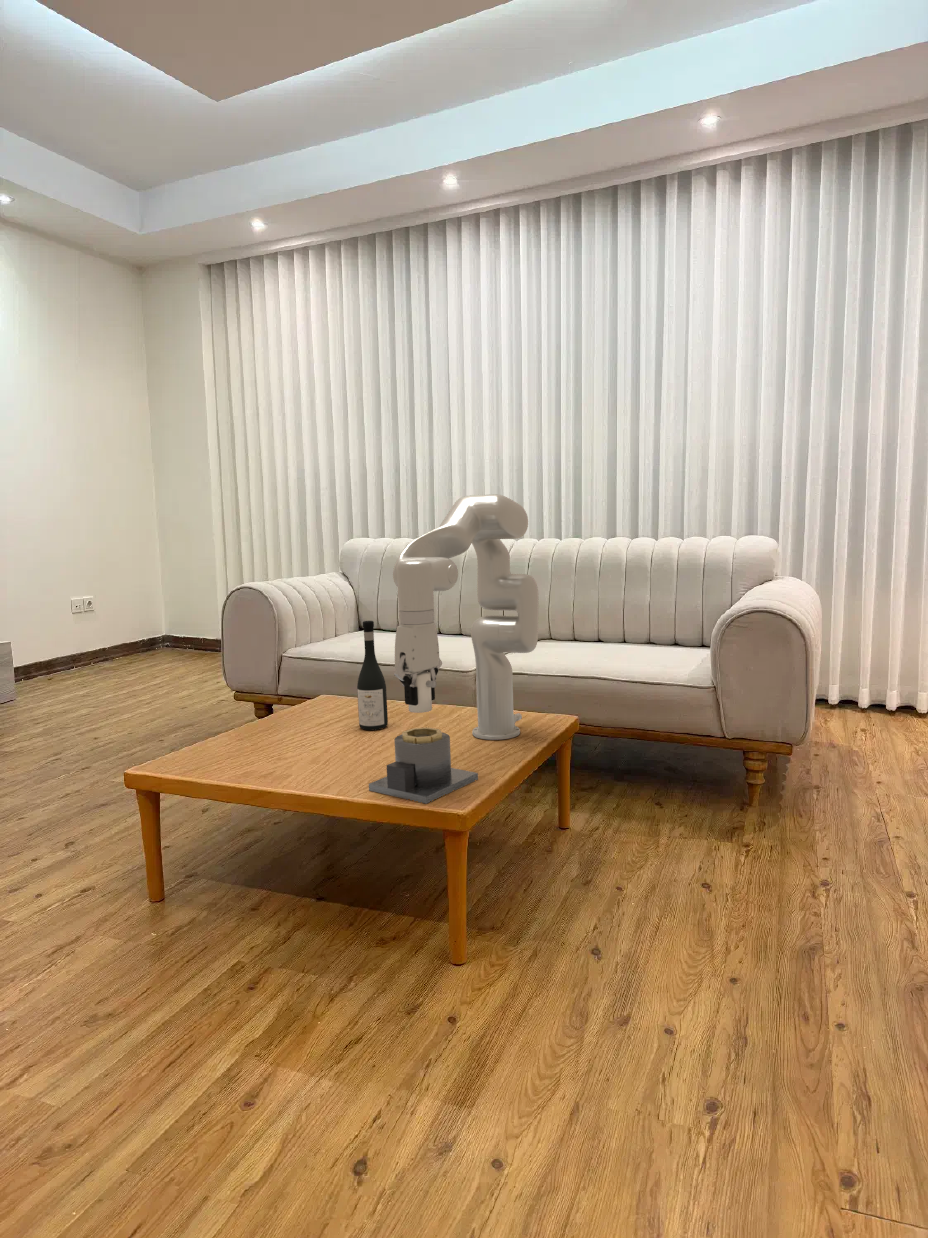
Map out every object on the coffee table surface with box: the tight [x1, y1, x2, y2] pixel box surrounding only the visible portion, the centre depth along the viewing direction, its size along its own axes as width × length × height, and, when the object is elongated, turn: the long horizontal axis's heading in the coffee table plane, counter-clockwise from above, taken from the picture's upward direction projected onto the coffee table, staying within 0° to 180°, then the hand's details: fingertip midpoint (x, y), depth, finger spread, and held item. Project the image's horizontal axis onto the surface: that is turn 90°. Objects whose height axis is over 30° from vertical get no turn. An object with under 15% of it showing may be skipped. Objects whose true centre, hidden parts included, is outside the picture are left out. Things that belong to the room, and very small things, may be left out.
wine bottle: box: [356, 620, 389, 731], centre depth 232 cm, size 8×8×30 cm
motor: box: [368, 726, 479, 805], centre depth 182 cm, size 18×16×12 cm
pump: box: [408, 671, 438, 714], centre depth 179 cm, size 5×7×8 cm
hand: (420, 701), depth 180 cm, fingers closed on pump, 5 cm apart
